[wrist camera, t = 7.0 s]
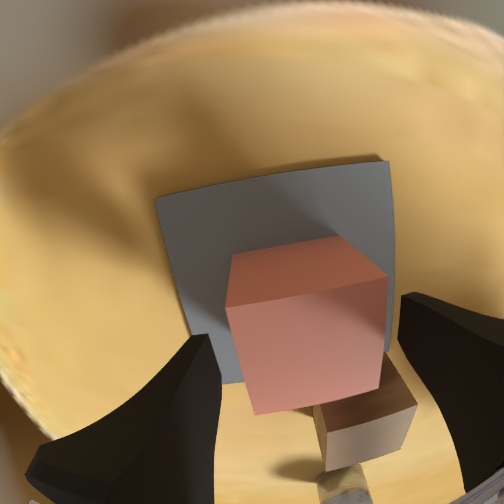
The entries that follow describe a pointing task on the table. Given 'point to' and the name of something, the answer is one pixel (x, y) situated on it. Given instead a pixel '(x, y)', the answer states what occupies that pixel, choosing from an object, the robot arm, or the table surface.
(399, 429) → the walnut block
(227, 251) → the slate mat
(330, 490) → the grey metal cylinder
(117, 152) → the table surface
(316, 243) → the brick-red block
